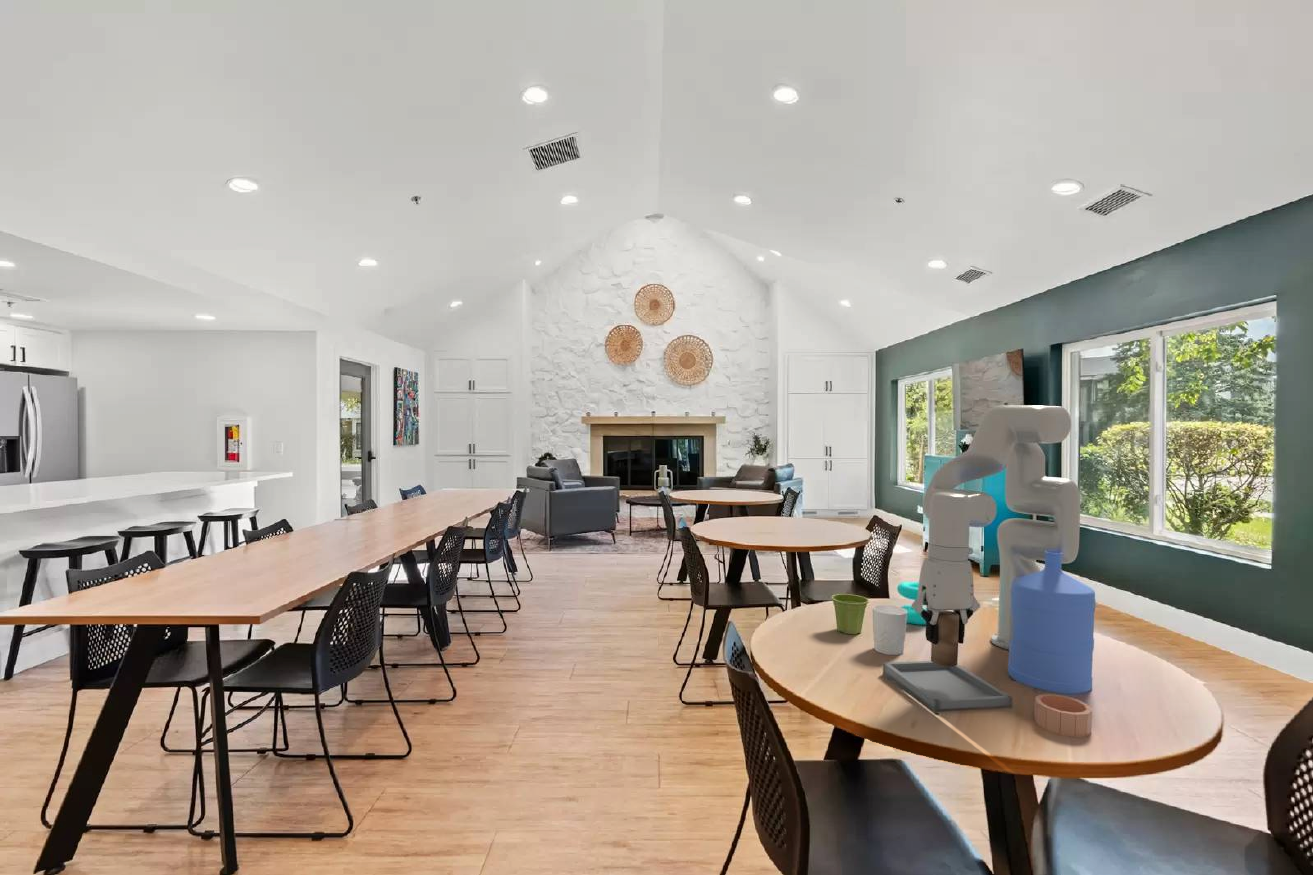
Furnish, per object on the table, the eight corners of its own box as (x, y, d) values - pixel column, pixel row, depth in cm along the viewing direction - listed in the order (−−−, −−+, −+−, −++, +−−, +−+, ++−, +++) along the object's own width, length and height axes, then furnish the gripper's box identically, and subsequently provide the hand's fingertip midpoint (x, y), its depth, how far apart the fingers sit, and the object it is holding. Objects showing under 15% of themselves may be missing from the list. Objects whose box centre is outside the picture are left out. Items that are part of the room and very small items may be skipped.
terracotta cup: (1064, 716, 126) (1065, 693, 126) (1102, 738, 118) (1103, 713, 118) (1024, 719, 125) (1024, 695, 125) (1058, 741, 116) (1059, 715, 116)
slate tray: (949, 671, 148) (950, 659, 148) (1011, 710, 129) (1012, 697, 128) (882, 674, 146) (883, 662, 146) (935, 714, 126) (936, 701, 126)
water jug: (1111, 695, 137) (1116, 559, 136) (1042, 698, 134) (1048, 560, 134) (1053, 666, 152) (1058, 544, 152) (991, 669, 150) (996, 545, 149)
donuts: (902, 578, 192) (939, 584, 187) (900, 613, 193) (937, 619, 187) (893, 585, 184) (931, 591, 179) (892, 621, 184) (930, 628, 179)
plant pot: (828, 624, 180) (829, 592, 180) (864, 626, 179) (865, 594, 179) (832, 635, 171) (833, 602, 171) (870, 638, 170) (871, 604, 170)
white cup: (901, 646, 164) (902, 605, 164) (910, 657, 157) (911, 615, 156) (868, 644, 165) (869, 604, 165) (875, 655, 157) (876, 613, 157)
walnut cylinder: (947, 657, 140) (949, 609, 139) (962, 665, 135) (964, 616, 134) (925, 658, 139) (927, 610, 139) (939, 666, 134) (941, 617, 134)
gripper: (974, 549, 141) (970, 635, 142) (899, 550, 139) (896, 637, 139) (997, 556, 134) (994, 646, 134) (919, 557, 131) (916, 649, 132)
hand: (944, 640), depth 137 cm, fingers closed on walnut cylinder, 5 cm apart
